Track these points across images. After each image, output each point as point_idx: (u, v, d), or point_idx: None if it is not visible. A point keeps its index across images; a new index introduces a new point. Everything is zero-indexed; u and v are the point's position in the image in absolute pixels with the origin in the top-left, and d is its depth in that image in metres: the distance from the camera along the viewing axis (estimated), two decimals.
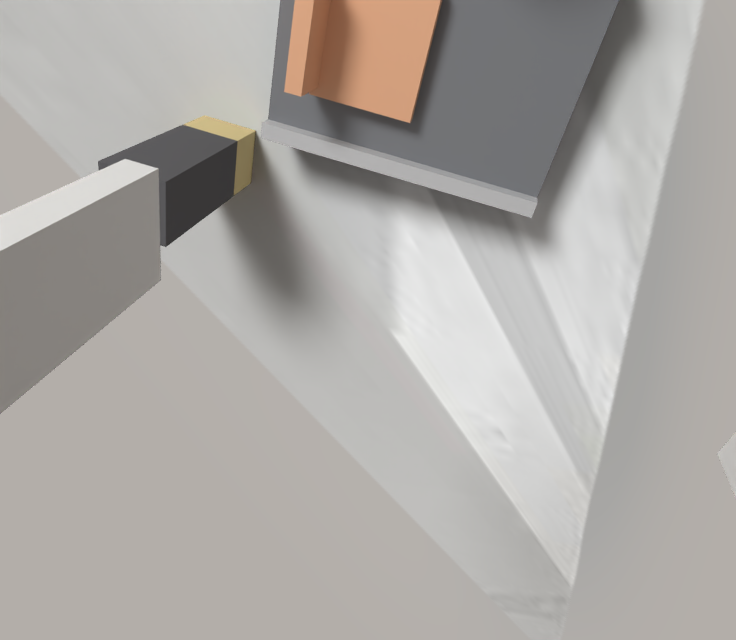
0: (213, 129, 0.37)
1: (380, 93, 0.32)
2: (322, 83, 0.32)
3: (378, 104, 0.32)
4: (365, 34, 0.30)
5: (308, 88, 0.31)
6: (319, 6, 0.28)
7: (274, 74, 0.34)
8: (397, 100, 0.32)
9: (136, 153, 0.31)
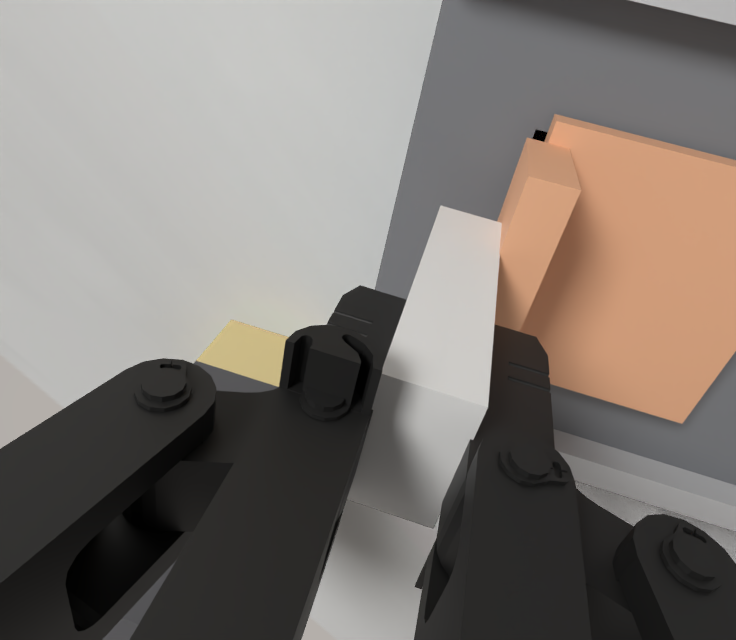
0: (250, 363, 0.21)
1: (627, 371, 0.15)
2: None
3: (618, 388, 0.15)
4: (616, 270, 0.14)
5: None
6: None
7: None
8: (663, 386, 0.15)
9: None
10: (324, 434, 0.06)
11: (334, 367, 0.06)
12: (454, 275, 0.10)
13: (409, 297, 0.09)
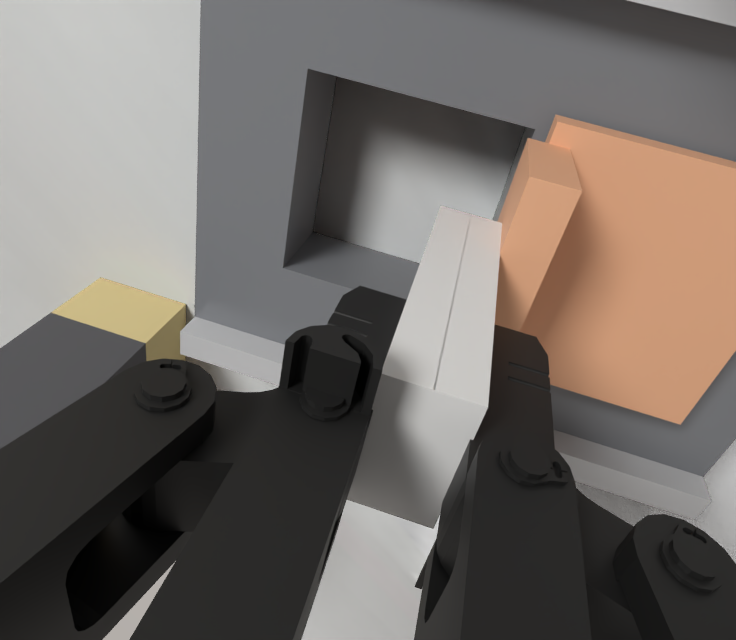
0: (107, 316, 0.21)
1: (626, 372, 0.15)
2: None
3: (616, 389, 0.15)
4: (616, 271, 0.14)
5: None
6: None
7: (199, 248, 0.18)
8: (662, 387, 0.15)
9: None
10: (324, 434, 0.06)
11: (334, 367, 0.06)
12: (454, 275, 0.10)
13: (409, 297, 0.09)
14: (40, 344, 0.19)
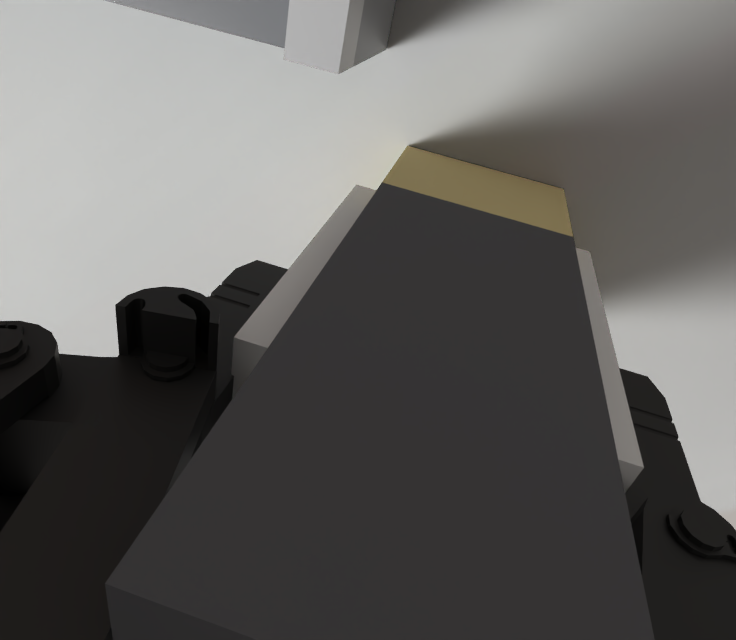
0: None
1: None
2: None
3: None
4: None
5: None
6: None
7: (166, 10, 0.10)
8: None
9: None
10: (167, 393, 0.06)
11: (171, 326, 0.06)
12: None
13: (290, 268, 0.09)
14: None
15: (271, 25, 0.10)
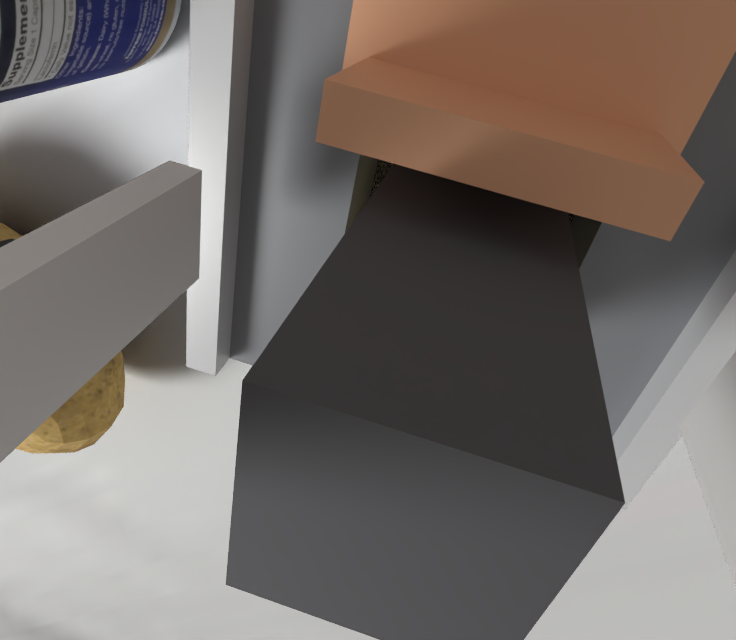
0: None
1: None
2: (652, 117, 0.10)
3: None
4: None
5: (670, 156, 0.09)
6: (431, 93, 0.09)
7: None
8: None
9: None
10: None
11: None
12: None
13: (9, 244, 0.08)
14: None
15: None
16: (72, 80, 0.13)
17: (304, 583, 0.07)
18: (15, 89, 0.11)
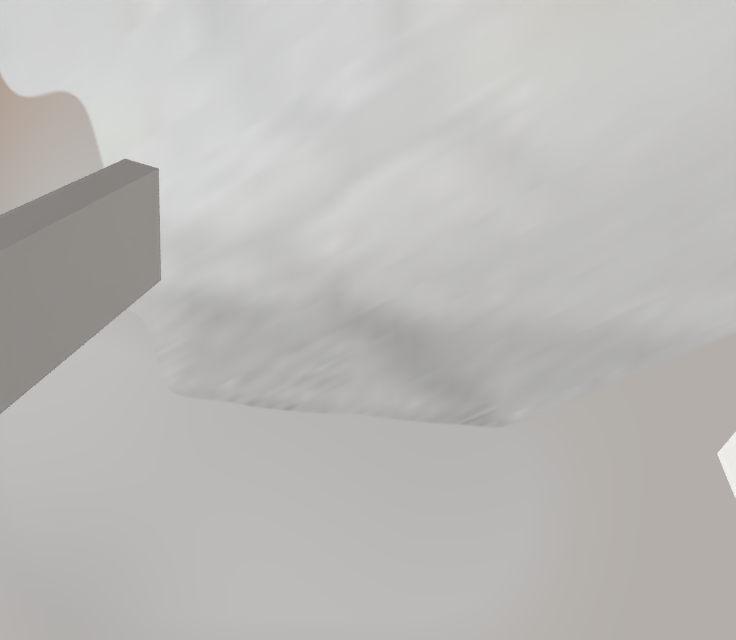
0: None
1: None
2: None
3: None
4: None
5: None
6: None
7: None
8: None
9: None
10: None
11: None
12: None
13: None
14: None
15: None
16: None
17: None
18: None
